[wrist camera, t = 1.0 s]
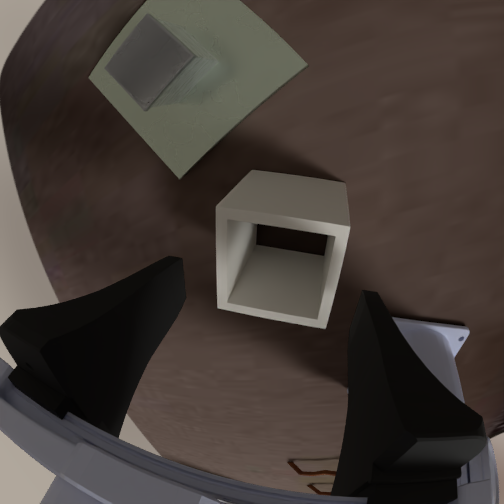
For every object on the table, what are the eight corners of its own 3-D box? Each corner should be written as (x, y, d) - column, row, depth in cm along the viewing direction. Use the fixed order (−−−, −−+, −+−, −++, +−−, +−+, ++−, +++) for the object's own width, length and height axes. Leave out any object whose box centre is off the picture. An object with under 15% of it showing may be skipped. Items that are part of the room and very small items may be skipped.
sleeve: (330, 264, 19) (325, 328, 14) (248, 250, 20) (217, 308, 15) (345, 182, 16) (350, 226, 11) (252, 169, 17) (215, 206, 12)
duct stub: (308, 66, 14) (300, 56, 10) (185, 175, 19) (149, 199, 15) (191, -35, 11) (155, -59, 8) (95, 77, 16) (50, 82, 13)
